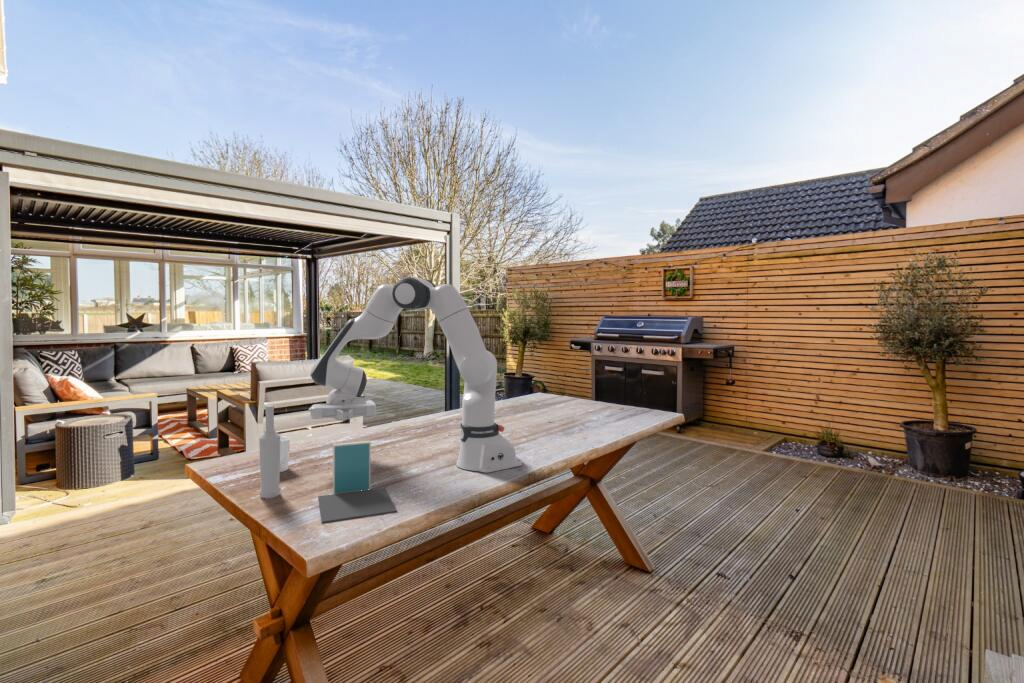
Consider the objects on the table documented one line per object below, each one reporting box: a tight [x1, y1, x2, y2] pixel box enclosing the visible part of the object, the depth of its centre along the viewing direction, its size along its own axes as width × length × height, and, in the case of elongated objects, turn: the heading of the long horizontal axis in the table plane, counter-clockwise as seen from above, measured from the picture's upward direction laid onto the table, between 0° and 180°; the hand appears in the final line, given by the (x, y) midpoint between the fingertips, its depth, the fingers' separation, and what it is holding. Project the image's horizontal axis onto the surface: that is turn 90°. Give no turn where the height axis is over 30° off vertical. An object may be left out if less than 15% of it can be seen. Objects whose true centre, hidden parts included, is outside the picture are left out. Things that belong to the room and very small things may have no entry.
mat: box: [317, 487, 398, 524], centre depth 127 cm, size 18×18×1 cm
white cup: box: [280, 435, 291, 473], centre depth 153 cm, size 8×8×10 cm
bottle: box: [258, 404, 281, 500], centre depth 131 cm, size 5×5×25 cm
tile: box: [332, 440, 372, 494], centre depth 136 cm, size 10×2×14 cm, turn 115°
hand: (346, 415), depth 149 cm, fingers closed
